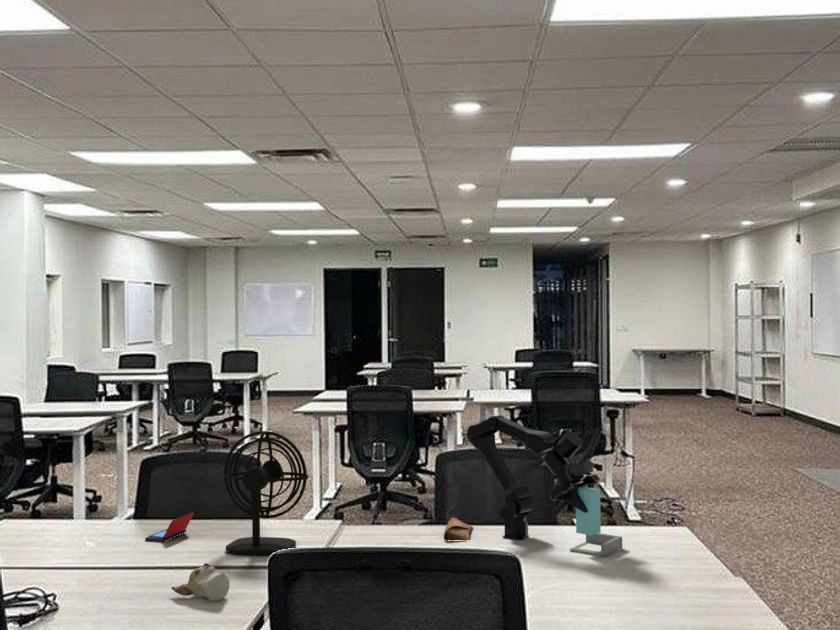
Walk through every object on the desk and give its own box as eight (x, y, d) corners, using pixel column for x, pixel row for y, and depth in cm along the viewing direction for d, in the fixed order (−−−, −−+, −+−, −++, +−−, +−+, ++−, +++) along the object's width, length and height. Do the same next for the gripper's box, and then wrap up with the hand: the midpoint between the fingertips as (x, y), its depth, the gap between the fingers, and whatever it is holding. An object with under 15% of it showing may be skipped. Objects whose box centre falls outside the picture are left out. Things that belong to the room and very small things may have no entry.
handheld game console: (166, 532, 281) (166, 509, 281) (195, 534, 278) (195, 511, 278) (143, 541, 269) (143, 518, 269) (172, 544, 266) (172, 520, 266)
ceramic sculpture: (206, 571, 205) (168, 565, 214) (208, 608, 204) (169, 600, 214) (240, 561, 213) (202, 555, 222) (242, 596, 213) (203, 589, 222)
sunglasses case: (471, 541, 262) (460, 522, 262) (452, 552, 263) (440, 534, 263) (473, 527, 280) (462, 509, 280) (455, 538, 281) (444, 520, 281)
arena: (570, 551, 250) (569, 539, 250) (587, 542, 258) (587, 531, 258) (605, 557, 243) (604, 544, 243) (622, 548, 252) (622, 536, 252)
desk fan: (315, 542, 264) (313, 429, 264) (295, 557, 247) (293, 437, 247) (233, 539, 270) (231, 428, 270) (208, 554, 253) (207, 435, 253)
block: (576, 532, 248) (575, 489, 248) (586, 529, 251) (585, 487, 251) (590, 535, 244) (590, 492, 244) (600, 532, 248) (600, 489, 248)
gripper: (557, 454, 244) (590, 498, 236) (594, 447, 257) (626, 488, 249) (535, 478, 250) (567, 522, 242) (572, 470, 263) (604, 511, 255)
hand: (592, 510), depth 247 cm, fingers closed on block, 5 cm apart
